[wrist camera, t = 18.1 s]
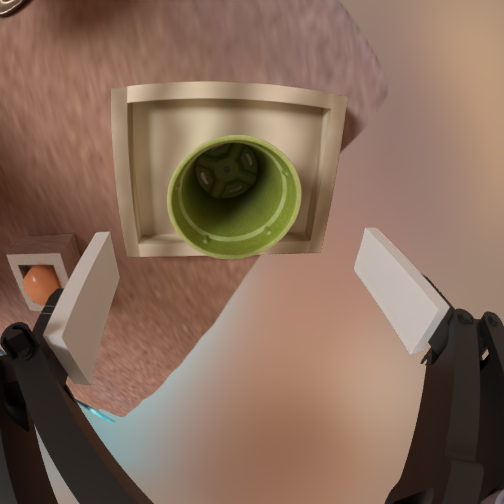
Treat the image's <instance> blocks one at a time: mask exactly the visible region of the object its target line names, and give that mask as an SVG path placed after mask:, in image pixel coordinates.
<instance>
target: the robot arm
mask: <svg viewBox="0 0 504 504" xmlns="http://www.w3.org/2000/svg"><path fill="white" fill-rule="evenodd" d="M354 271H355V272H356V274H357V275H358V276H359V278H360V279H361V280H362V282H363V284H364V285H365V286H366V288H367V289H368V291H369V292H370V294H371V295H372V297H373V298H374V299H375V301H376V302H377V304H378V305H379V307H380V308H381V310H382V311H383V313H384V314H385V316H386V317H387V319H388V320H389V322H390V323H391V325H392V326H393V328H394V330H395V331H396V333H397V334H398V336H399V337H400V339H401V341H402V342H403V344H404V345H405V347H406V349H407V350H408V352H409V354H410V355H412V354H415V353H418V352H421V351H422V350H423V349H424V348H425V346H426V345H427V343H429V344H430V346H431V348H430V349H429V351H428V352H427V354H426V355H425V356H424V358H423V359H422V361H421V364H423V363H424V361H425V360H426V359H427V363H426V364H425V365H426V374H425V380H424V386H423V393H422V398H421V403H420V409H419V413H418V418H417V422H416V427H415V431H414V435H413V439H412V442H411V446H410V450H409V453H408V457H407V460H406V463H405V466H404V469H403V472H402V476H401V478H400V480H399V482H398V483H397V484H396V485H395V486H394V487H393V489H392V490H391V492H390V493H389V495H388V497H387V499H386V501H385V504H504V326H503V324H502V322H501V320H500V318H498V316H497V315H496V314H495V313H492V312H485V313H484V315H483V316H482V318H481V319H474V318H473V316H472V315H471V314H470V313H468V312H467V311H465V310H463V309H456V310H455V309H454V308H453V306H452V305H451V304H450V303H449V302H448V301H447V300H446V298H445V297H444V296H443V295H442V294H441V292H439V291H438V289H437V288H436V287H435V286H434V284H433V283H432V282H431V281H430V280H429V279H428V278H427V277H425V276H424V275H423V274H421V273H420V272H419V271H418V270H417V269H416V268H415V267H414V266H413V265H412V263H411V262H410V261H408V259H407V258H406V257H405V256H404V255H403V254H402V253H401V252H400V251H399V250H398V249H397V248H396V247H395V246H394V245H393V244H392V243H391V242H390V241H389V240H388V239H387V238H386V237H385V236H384V235H383V234H382V233H381V232H380V231H379V230H378V229H377V228H365V232H364V235H363V239H362V242H361V246H360V249H359V253H358V256H357V259H356V263H355V266H354ZM119 279H120V276H119V271H118V267H117V263H116V258H115V254H114V249H113V244H112V239H111V233H110V232H96V234H95V235H94V237H93V238H92V240H91V242H90V243H89V245H88V247H87V248H86V250H85V252H84V254H83V255H82V257H81V259H80V261H79V262H78V264H77V266H76V268H75V270H74V271H73V273H72V275H71V277H70V279H69V281H68V283H67V285H66V287H65V288H57V289H56V290H55V291H54V292H53V293H52V294H51V295H50V296H49V298H48V300H47V302H46V304H45V307H44V308H43V310H42V312H41V314H40V316H39V318H38V320H37V322H36V324H35V326H34V329H33V331H32V332H31V330H30V328H29V327H28V325H27V324H25V323H23V322H17V323H14V324H11V325H10V326H9V327H7V328H6V329H5V331H4V332H3V333H2V336H1V339H0V345H1V346H2V348H3V349H4V350H5V352H6V353H7V355H2V356H0V504H58V502H57V500H56V497H55V495H54V492H53V489H52V487H51V484H50V481H49V478H48V475H47V472H46V469H45V465H44V462H43V459H42V455H41V452H40V448H39V444H38V439H37V435H36V431H35V427H34V424H35V426H36V429H37V431H38V433H39V435H40V437H41V439H42V441H43V443H44V445H45V447H46V449H47V451H48V453H49V455H50V457H51V459H52V460H53V462H54V464H55V466H56V468H57V469H58V471H59V473H60V474H61V476H62V478H63V479H64V481H65V483H66V484H67V486H68V487H69V489H70V490H71V492H72V493H73V495H74V496H75V498H76V499H77V501H78V502H79V503H80V504H154V503H153V502H152V501H151V500H150V499H149V498H148V497H147V496H146V495H145V494H144V493H143V492H142V491H141V489H140V488H139V487H138V486H137V485H136V484H135V483H134V482H133V480H132V479H131V478H130V477H129V476H128V475H127V473H126V472H125V471H124V470H123V469H122V467H121V466H120V465H119V464H118V463H117V461H116V460H115V458H114V457H113V456H112V455H111V453H110V452H109V450H108V449H107V448H106V446H105V445H104V444H103V442H102V441H101V439H100V438H99V437H98V435H97V433H96V432H95V431H94V429H93V427H92V426H91V425H90V423H89V421H88V420H87V418H86V417H85V415H84V413H83V412H82V410H81V408H80V407H79V405H78V403H77V402H76V400H75V398H74V396H73V394H72V393H71V391H70V389H69V387H68V386H67V385H66V380H67V376H69V377H70V379H71V380H72V382H73V383H75V384H83V385H91V381H92V377H93V372H94V367H95V363H96V359H97V355H98V351H99V347H100V343H101V339H102V335H103V332H104V328H105V324H106V321H107V317H108V314H109V311H110V307H111V304H112V301H113V298H114V294H115V291H116V288H117V285H118V282H119ZM487 349H488V352H489V354H488V356H487V357H486V358H485V359H484V360H483V359H482V355H483V354H484V353H485V351H486V350H487Z"/></svg>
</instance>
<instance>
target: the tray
mask: <svg viewBox="0 0 504 504" xmlns="http://www.w3.org/2000/svg"><path fill="white" fill-rule="evenodd" d="M346 105H347V96H342V95H337V94H332V93H326V92H321V91H315V90H308V89H302V88H294V87H286V86H277V85H267V84H255V83H239V82H174V83H158V84H146V85H136V86H127V87H120V88H113V89H111V119H112V143H113V158H114V170H115V180H116V190H117V198H118V206H119V213H120V220H121V226H122V233H123V238H124V244H125V250H126V255H127V257H161V256H208V255H205V254H203V253H201V252H199V251H196V250H195V249H193V248H192V247H191V246H189V245H188V244H187V243H186V242H185V241H184V240H183V239H182V238H181V237H180V236H179V234H178V233H177V231H176V230H175V228H174V226H173V224H172V222H171V220H170V217H169V213H168V207H167V193H168V188H169V184H170V181H171V178H172V176H173V174H174V172H175V170H176V168H177V167H178V165H179V164H180V163H181V161H182V160H183V159H184V158H185V157H186V156H187V155H188V154H189V153H190V152H191V151H192V150H193V149H195V148H196V147H198V146H199V145H201V144H203V143H204V142H207V141H209V140H211V139H214V138H217V137H221V136H226V135H247V136H252V137H256V138H259V139H262V140H264V141H267V142H269V143H270V144H272V145H274V146H275V147H277V148H278V149H279V150H280V151H282V152H283V153H284V154H285V155H286V156H287V157H288V159H289V160H290V161H291V162H292V164H293V166H294V167H295V169H296V171H297V174H298V177H299V180H300V184H301V205H300V209H299V212H298V215H297V217H296V220H295V222H294V223H293V225H292V226H291V228H290V229H289V231H288V232H287V233H286V235H285V236H284V237H283V238H282V239H281V240H279V241H278V242H277V243H276V244H275V245H273V246H272V247H270V248H269V249H267V250H265V251H263V252H261V253H259V254H292V253H321V249H322V245H323V240H324V235H325V230H326V225H327V221H328V216H329V211H330V206H331V200H332V195H333V190H334V184H335V179H336V173H337V166H338V161H339V155H340V148H341V142H342V135H343V128H344V120H345V113H346ZM222 147H224V144H221V145H217V146H215V147H213V148H212V149H211V152H212V151H214V150H216V149H219V148H222ZM245 155H246V157H247V159H248V161H249V165H250V166H252V163H253V162H252V159H251V157H250V155H249V154H247V153H246V154H245ZM224 170H225V172H229V168H228V167H225V169H224ZM201 178H202V179H203V180H204V182H205V184H208V181H207V180H206V178H205V175H204V172H202V173H201ZM241 188H242V186H238V187H237V188H234V189H231V190H229V192H230V193H231V192H236V191H239V190H240V189H241Z"/></svg>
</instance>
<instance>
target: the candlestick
mask: <svg viewBox="0 0 504 504" xmlns="http://www.w3.org/2000/svg"><path fill="white" fill-rule="evenodd" d="M27 1H28V0H0V17H6V16H8V15H11V14H12V13H14V12H16V11H17V10H18V9H20V8H21V7H22V6H23V5H24V4H25V3H26V2H27Z"/></svg>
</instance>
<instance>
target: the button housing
mask: <svg viewBox="0 0 504 504" xmlns="http://www.w3.org/2000/svg"><path fill="white" fill-rule="evenodd" d="M6 255H7V258H8V261H9V264H10V266H11V269H12V271H13V274H14V276H15V278H16V281H17V283H18V285H19V288H20V290H21V292H22V294H23V297H24V299H25V301H26V303H27V305H28V307H29V309H30V310H34V311H42V310H43V308H44V307H45V306H42V305H39V304H37V303H35V302H34V301H33V300H32V299H31V298H30V297H29V296H28V295H27V293H26V291H25V289H24V286H23V280H24V278H25V276H26V275H27V273H28V272H29V270H30V269H31V267H32V266H33V265H54V268H55V271H56V274H57V277H58V279H59V282H60V285H61V287H62V288H65V287H66V285H67V283H68V281H69V279H70V277H71V275H72V273H73V271H74V270H75V268H76V266H77V264H78V262H79V261H80V259H81V258H80V254H79V250H78V246H77V242H76V238H75V234H74V233H71V234H52V235H36V236H22V237H21V238H20V239H19V241H18V242H17V243H16V244H15V245H14V246H13V247H12V248H11V250H10V251H9V252H8V253H7V254H6Z"/></svg>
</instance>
